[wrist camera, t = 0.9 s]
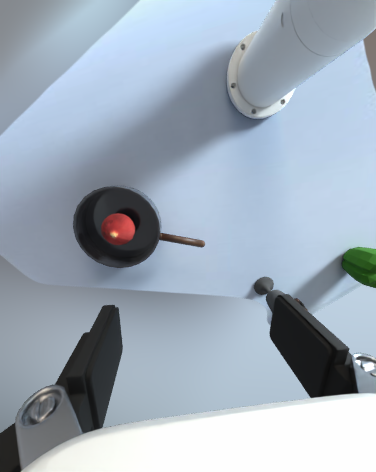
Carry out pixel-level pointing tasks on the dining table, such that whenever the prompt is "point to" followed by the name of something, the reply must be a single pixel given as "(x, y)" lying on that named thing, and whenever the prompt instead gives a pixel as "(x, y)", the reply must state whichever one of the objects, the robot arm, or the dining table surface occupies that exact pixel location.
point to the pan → (114, 202)
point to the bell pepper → (361, 265)
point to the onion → (118, 229)
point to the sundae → (269, 291)
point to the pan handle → (181, 240)
